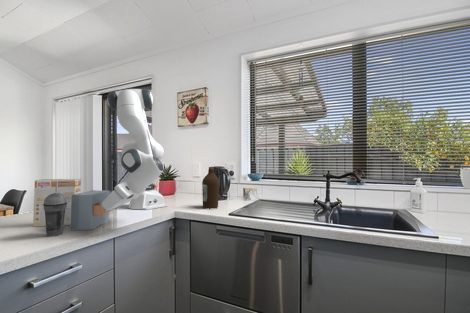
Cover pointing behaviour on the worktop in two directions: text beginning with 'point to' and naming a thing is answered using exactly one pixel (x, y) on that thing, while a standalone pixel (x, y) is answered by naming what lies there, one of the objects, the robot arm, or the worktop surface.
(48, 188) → the coffeecake box
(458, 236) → the worktop surface
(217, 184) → the olive oil
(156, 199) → the robot arm
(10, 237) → the worktop surface
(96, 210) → the terracotta button
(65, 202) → the beverage cup
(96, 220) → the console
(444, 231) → the worktop surface
